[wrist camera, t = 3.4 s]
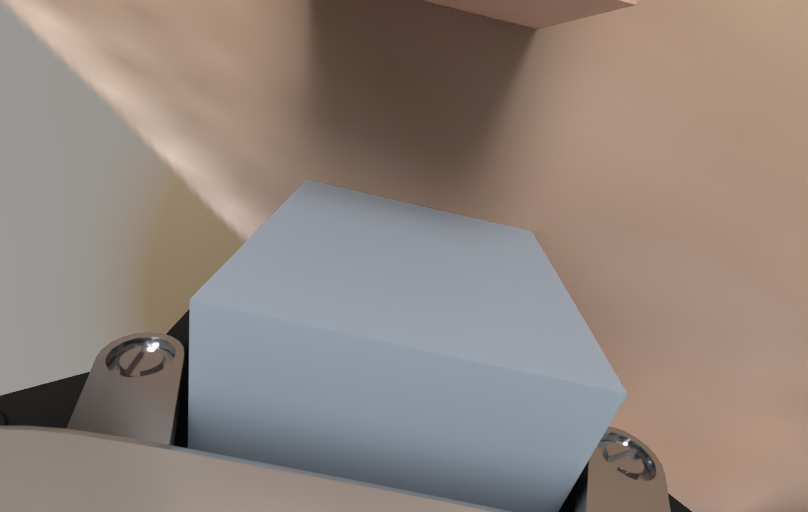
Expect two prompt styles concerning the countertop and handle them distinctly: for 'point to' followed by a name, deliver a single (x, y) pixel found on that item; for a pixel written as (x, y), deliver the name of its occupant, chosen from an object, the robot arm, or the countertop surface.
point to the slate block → (399, 354)
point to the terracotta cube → (536, 9)
